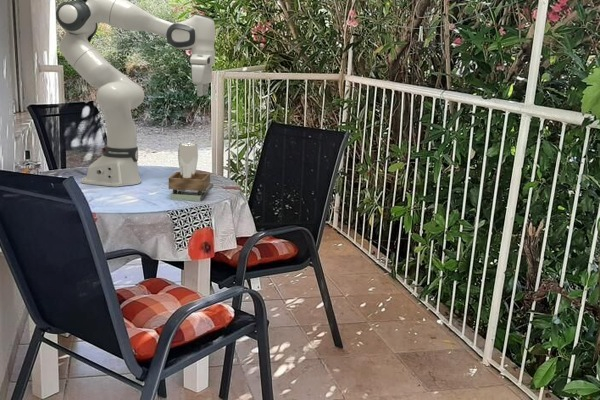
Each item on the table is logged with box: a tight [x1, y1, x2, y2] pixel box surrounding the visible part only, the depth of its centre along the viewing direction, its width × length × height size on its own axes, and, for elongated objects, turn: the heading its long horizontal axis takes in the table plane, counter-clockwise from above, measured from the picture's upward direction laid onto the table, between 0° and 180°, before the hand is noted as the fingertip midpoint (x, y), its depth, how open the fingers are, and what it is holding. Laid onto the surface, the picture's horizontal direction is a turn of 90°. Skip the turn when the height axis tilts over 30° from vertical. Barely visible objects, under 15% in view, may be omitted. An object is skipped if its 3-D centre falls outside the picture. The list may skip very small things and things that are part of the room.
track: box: [170, 182, 214, 202], centre depth 228 cm, size 11×27×2 cm, turn 178°
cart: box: [168, 171, 211, 195], centre depth 221 cm, size 13×13×6 cm
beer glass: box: [177, 142, 199, 179], centre depth 217 cm, size 7×7×15 cm
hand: (202, 95), depth 234 cm, fingers open, 8 cm apart
